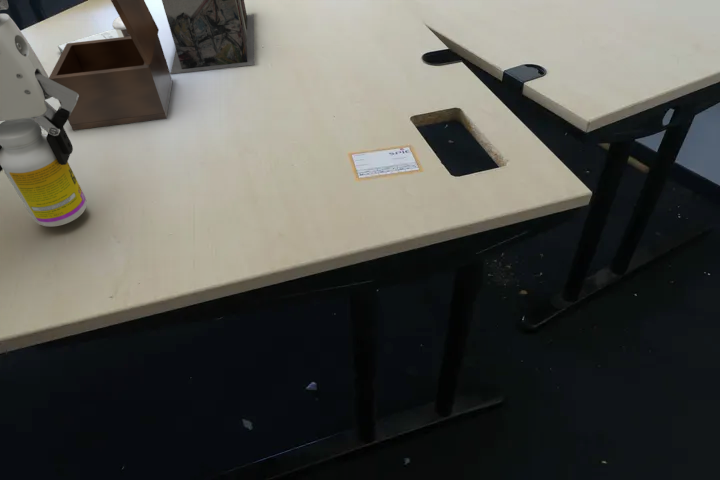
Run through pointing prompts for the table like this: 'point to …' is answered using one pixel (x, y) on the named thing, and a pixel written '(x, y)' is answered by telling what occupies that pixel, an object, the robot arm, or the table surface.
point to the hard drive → (93, 38)
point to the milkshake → (120, 28)
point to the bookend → (210, 34)
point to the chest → (113, 82)
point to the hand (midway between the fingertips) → (33, 160)
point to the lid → (138, 25)
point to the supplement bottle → (39, 174)
